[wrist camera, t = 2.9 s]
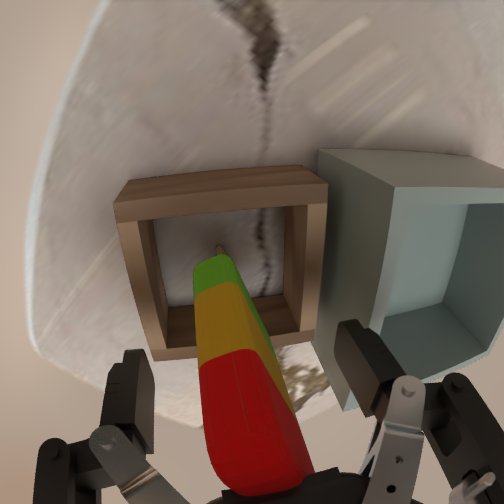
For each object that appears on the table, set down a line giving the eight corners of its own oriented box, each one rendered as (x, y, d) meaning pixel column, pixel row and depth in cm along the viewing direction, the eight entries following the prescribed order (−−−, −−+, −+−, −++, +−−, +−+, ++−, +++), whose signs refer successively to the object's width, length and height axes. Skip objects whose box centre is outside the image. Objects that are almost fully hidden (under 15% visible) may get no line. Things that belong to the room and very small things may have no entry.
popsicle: (203, 484, 5) (288, 461, 5) (188, 218, 18) (217, 205, 18) (276, 518, 8) (328, 502, 8) (223, 289, 21) (250, 278, 21)
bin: (317, 148, 18) (394, 186, 11) (473, 157, 20) (549, 191, 13) (305, 331, 24) (343, 411, 17) (439, 301, 26) (488, 354, 19)
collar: (128, 180, 17) (112, 203, 13) (301, 165, 18) (328, 183, 15) (157, 320, 21) (153, 361, 18) (295, 303, 23) (313, 340, 19)
